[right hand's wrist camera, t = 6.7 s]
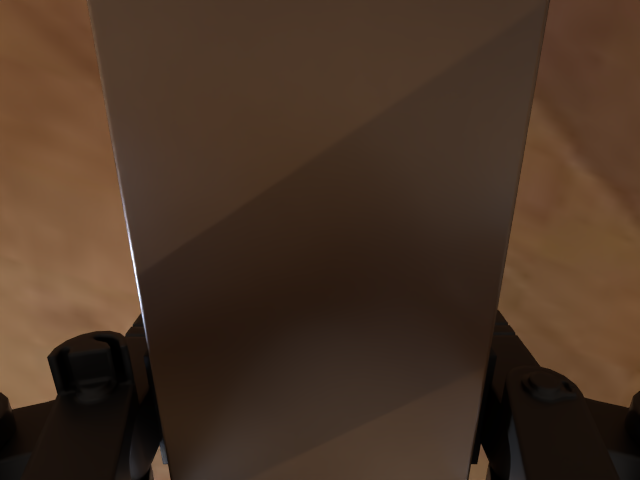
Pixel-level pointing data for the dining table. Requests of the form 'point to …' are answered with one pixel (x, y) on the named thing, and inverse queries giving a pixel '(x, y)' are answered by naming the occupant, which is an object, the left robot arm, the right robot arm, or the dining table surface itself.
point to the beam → (318, 222)
